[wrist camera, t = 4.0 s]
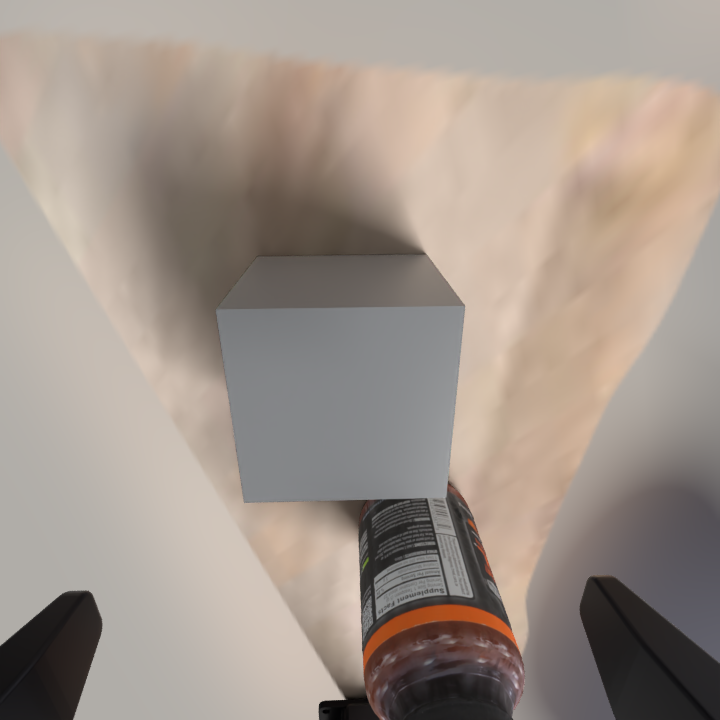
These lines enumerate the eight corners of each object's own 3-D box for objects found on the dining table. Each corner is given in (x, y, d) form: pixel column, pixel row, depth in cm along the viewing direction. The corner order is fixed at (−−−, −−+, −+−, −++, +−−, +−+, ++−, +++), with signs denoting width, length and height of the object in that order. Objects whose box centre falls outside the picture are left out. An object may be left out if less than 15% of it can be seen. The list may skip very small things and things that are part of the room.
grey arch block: (418, 400, 21) (445, 497, 15) (272, 403, 21) (244, 502, 15) (426, 254, 18) (465, 305, 12) (257, 256, 18) (215, 309, 12)
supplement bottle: (475, 544, 25) (562, 813, 15) (370, 563, 26) (387, 838, 16) (461, 460, 23) (555, 715, 13) (346, 483, 23) (347, 748, 13)
